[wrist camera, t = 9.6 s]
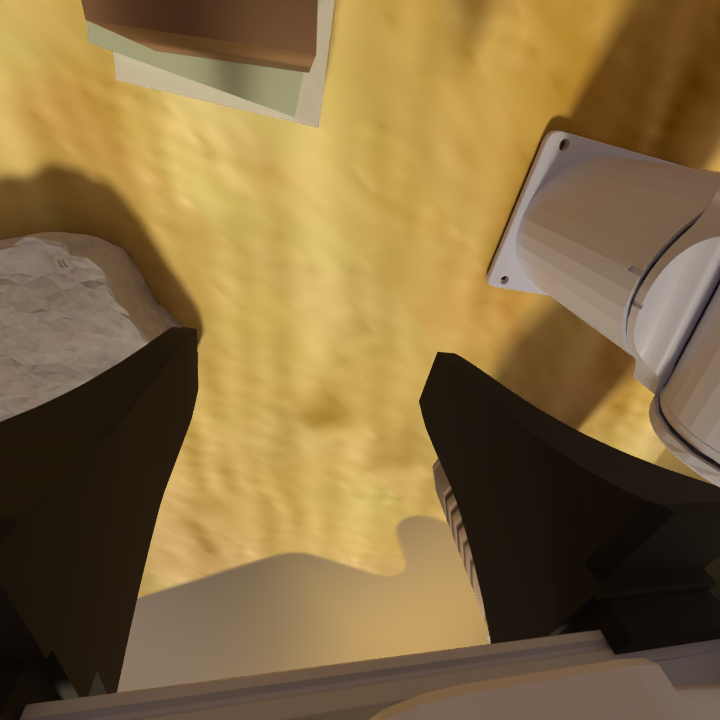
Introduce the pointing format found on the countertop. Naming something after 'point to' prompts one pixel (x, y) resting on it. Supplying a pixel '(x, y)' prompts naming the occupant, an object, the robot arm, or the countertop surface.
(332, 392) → the countertop surface
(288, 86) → the sage top block
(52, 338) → the stone block
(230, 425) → the countertop surface
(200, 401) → the countertop surface
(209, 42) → the walnut block
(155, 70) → the grey base block
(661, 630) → the robot arm
